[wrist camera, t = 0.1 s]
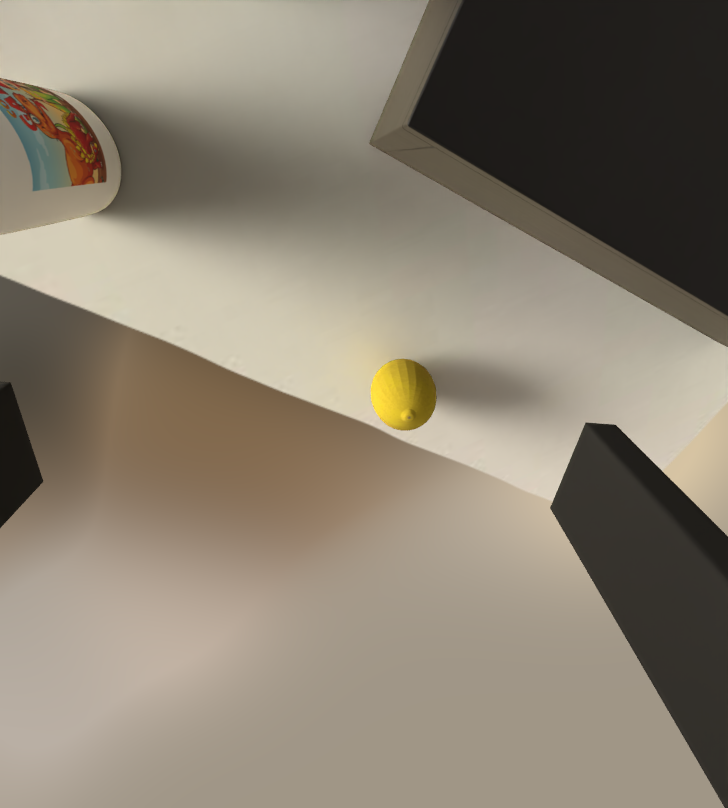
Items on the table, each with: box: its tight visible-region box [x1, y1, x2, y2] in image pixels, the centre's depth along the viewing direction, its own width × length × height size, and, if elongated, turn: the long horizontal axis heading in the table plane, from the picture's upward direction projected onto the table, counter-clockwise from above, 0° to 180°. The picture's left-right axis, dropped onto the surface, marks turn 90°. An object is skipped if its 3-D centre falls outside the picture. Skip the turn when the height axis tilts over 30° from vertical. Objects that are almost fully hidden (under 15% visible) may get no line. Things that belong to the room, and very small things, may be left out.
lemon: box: [371, 359, 437, 430], centre depth 37 cm, size 6×6×8 cm
